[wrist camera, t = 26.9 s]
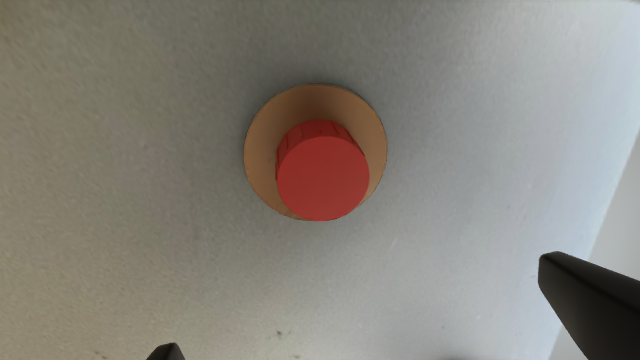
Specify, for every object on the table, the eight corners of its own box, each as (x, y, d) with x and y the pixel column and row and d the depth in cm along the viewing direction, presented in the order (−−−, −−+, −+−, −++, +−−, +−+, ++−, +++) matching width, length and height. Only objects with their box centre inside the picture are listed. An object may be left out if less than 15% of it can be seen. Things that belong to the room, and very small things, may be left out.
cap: (373, 143, 18) (388, 162, 16) (330, 208, 20) (338, 235, 17) (302, 102, 17) (306, 117, 15) (260, 174, 18) (259, 198, 16)
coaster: (375, 67, 18) (378, 69, 17) (392, 199, 21) (395, 204, 20) (225, 101, 17) (224, 103, 17) (264, 228, 20) (264, 234, 20)
